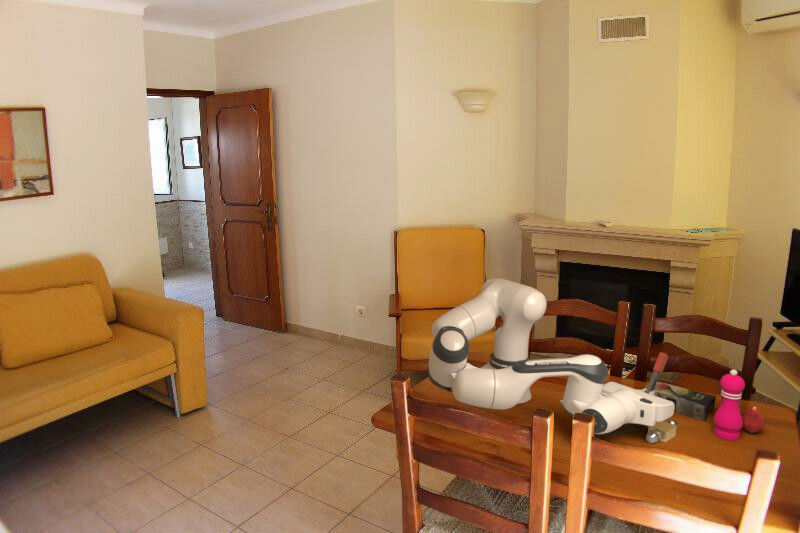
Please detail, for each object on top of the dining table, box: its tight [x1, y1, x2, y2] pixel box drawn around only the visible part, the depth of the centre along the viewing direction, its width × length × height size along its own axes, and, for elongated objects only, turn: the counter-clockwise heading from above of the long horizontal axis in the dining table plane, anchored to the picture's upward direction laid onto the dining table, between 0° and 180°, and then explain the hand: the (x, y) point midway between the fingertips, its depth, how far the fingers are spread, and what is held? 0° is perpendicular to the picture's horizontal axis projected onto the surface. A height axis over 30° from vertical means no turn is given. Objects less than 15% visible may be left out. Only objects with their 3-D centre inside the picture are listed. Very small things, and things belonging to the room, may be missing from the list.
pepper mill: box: [713, 369, 746, 442], centre depth 161 cm, size 7×7×20 cm
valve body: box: [641, 418, 679, 444], centre depth 165 cm, size 9×14×3 cm, turn 129°
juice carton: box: [642, 380, 717, 422], centre depth 181 cm, size 20×10×6 cm, turn 47°
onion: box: [741, 406, 766, 434], centre depth 164 cm, size 6×6×8 cm
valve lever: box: [633, 351, 669, 427], centre depth 171 cm, size 2×2×23 cm
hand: (649, 392), depth 169 cm, fingers closed
